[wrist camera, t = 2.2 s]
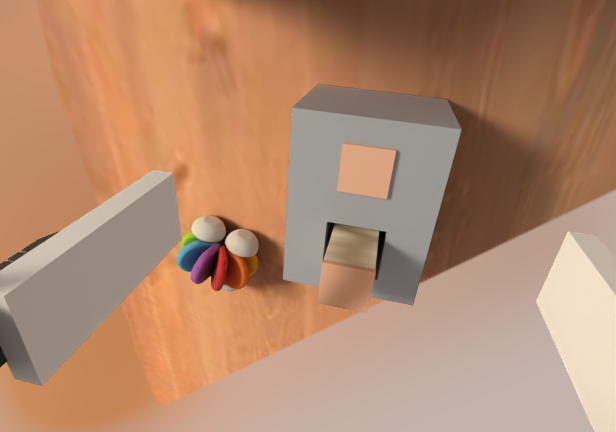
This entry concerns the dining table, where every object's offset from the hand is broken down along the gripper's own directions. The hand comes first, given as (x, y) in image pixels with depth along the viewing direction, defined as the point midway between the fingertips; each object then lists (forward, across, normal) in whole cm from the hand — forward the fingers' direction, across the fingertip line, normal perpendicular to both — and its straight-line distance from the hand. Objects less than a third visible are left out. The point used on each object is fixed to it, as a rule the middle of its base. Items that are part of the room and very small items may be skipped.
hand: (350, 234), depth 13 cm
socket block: (+27, 0, -8) cm, 28 cm away
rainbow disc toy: (+27, -16, -21) cm, 38 cm away
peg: (+22, 0, -12) cm, 25 cm away
